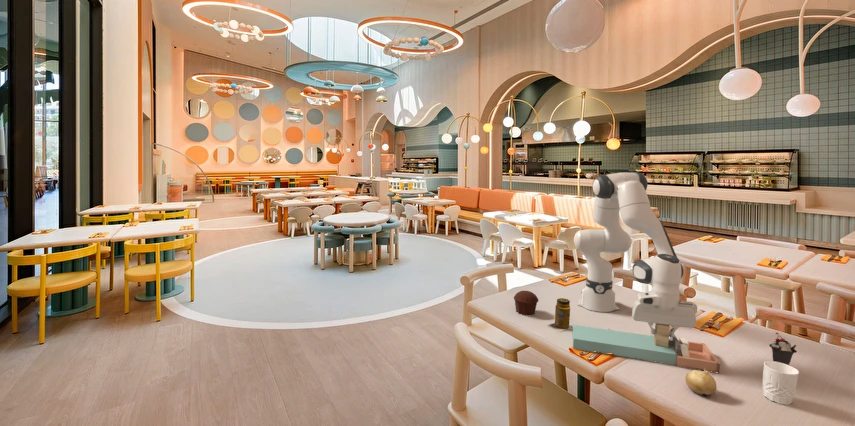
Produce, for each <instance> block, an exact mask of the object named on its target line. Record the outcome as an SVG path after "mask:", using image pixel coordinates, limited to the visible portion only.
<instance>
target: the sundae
mask: <svg viewBox="0 0 855 426" xmlns="http://www.w3.org/2000/svg"><path fill="white" fill-rule="evenodd" d="M775 334H776V335H777V338H775V339H774V340H775V341H772V343H770V344H769V345H768V347H770V348H771V351H772V361H775V362H780V363H784V364H787V365H789V366H790V363H791V361H792V357H793V355H794V354H795V353H796V354H797V352H798V351H797V350H796V347H797V345H796V344H794V345H793V346H792V344H791V342H789V341H788V340H786V339H785V338H783V337H782V336H781V335H780V334H779V332H775ZM779 337H780V338H779Z"/></svg>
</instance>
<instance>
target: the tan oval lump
mask: <svg viewBox="0 0 855 426" xmlns="http://www.w3.org/2000/svg"><path fill="white" fill-rule="evenodd" d="M704 370H705V368H704ZM685 384H686V385H687V388H688V389H689V390H690V391H692V392H694V393H695V394H697V395H699V394H700V396H703V395H706V396H711V395H712V394H714V393H715V392H716V390H717V382H716V380H715V378H714V377H713V375H711V372H709V371H706V370H705V371H702V370H696V369H692V370H691V371H689V372H687V374H686V375H685Z"/></svg>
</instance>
